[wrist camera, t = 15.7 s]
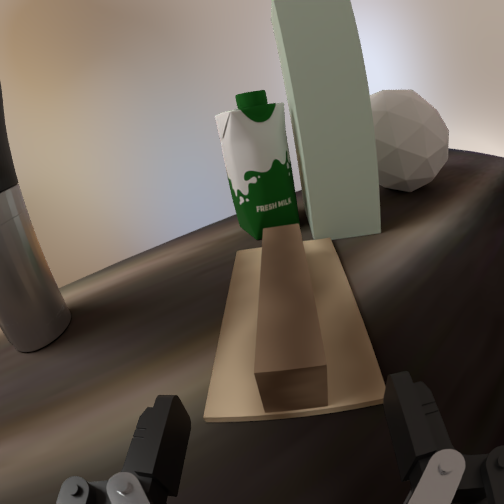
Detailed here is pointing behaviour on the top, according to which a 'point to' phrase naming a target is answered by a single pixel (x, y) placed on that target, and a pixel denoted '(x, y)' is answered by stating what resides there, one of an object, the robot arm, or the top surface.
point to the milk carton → (258, 163)
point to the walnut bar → (288, 327)
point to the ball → (407, 139)
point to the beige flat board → (332, 330)
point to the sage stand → (329, 115)
